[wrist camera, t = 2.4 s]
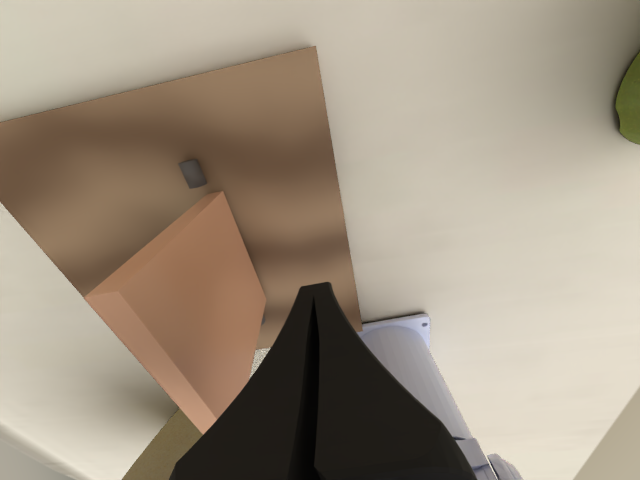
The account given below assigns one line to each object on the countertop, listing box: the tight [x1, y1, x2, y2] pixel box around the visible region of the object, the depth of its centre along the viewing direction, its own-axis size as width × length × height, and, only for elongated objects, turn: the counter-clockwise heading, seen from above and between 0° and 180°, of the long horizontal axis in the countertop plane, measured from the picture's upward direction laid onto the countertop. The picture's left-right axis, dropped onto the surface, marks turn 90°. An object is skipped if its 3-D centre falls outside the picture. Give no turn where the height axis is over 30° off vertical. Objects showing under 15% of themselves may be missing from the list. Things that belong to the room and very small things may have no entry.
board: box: [0, 46, 363, 350], centre depth 17 cm, size 20×20×2 cm
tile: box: [84, 191, 266, 434], centre depth 12 cm, size 9×1×9 cm, turn 11°
